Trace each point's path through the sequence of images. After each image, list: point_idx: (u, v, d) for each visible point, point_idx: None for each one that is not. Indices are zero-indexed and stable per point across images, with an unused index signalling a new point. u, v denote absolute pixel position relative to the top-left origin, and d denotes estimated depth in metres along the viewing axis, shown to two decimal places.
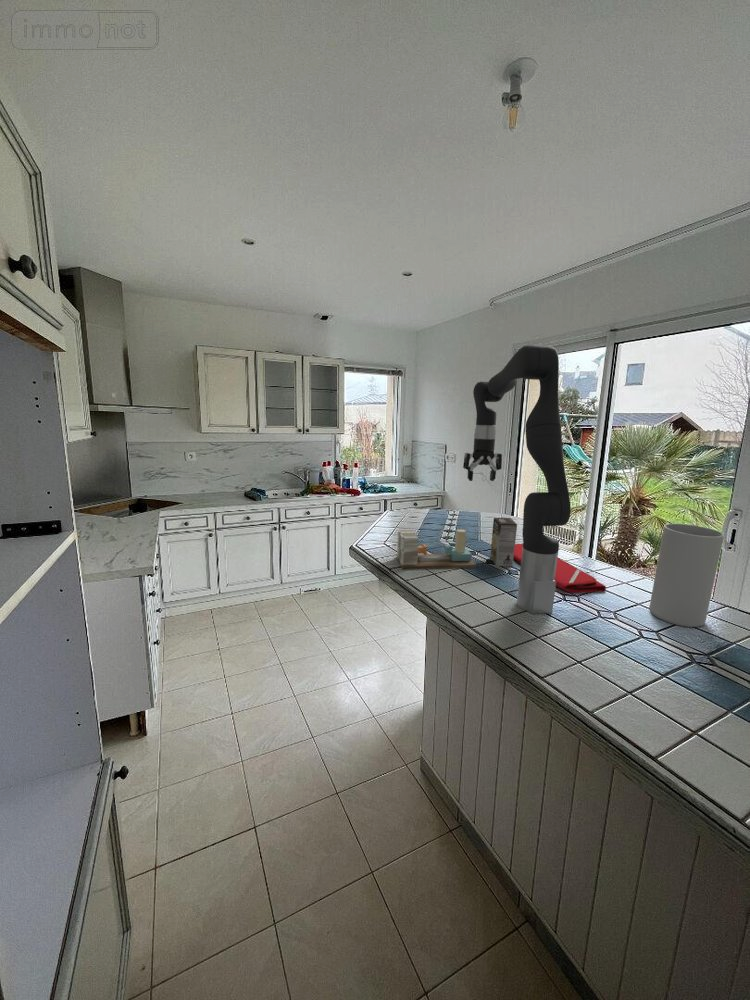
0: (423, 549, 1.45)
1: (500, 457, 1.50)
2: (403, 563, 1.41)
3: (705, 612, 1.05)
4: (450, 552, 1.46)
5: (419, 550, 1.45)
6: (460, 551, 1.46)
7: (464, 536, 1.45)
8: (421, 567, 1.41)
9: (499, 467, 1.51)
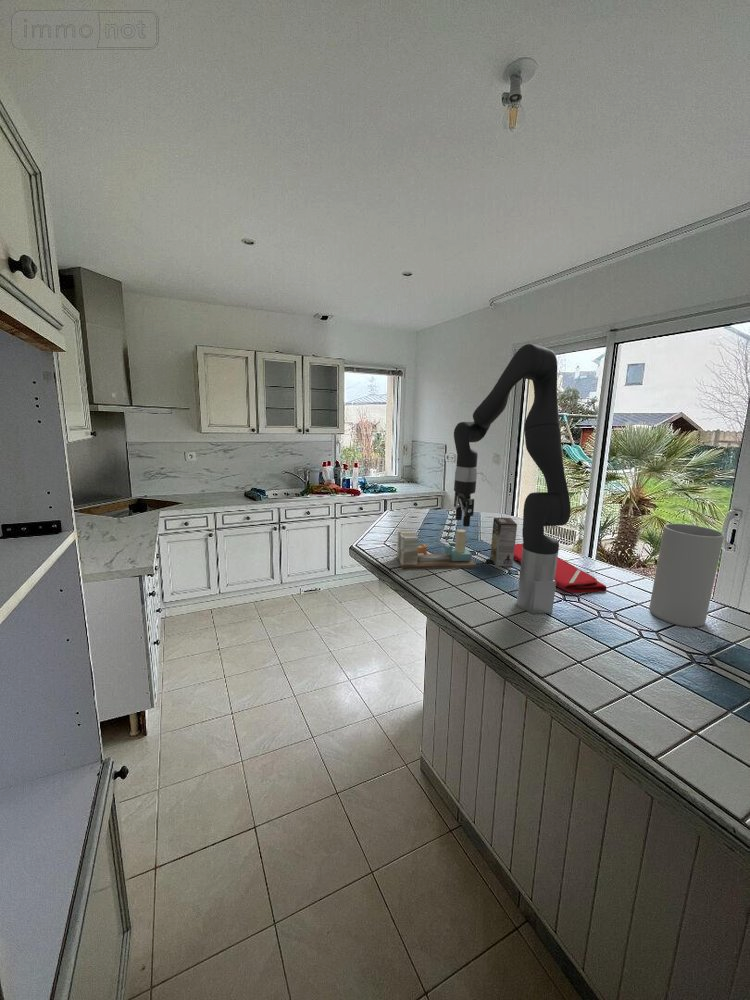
0: (423, 549, 1.45)
1: None
2: (403, 563, 1.41)
3: (705, 612, 1.05)
4: (450, 552, 1.46)
5: (419, 550, 1.45)
6: (460, 551, 1.46)
7: (464, 536, 1.45)
8: (421, 567, 1.41)
9: None
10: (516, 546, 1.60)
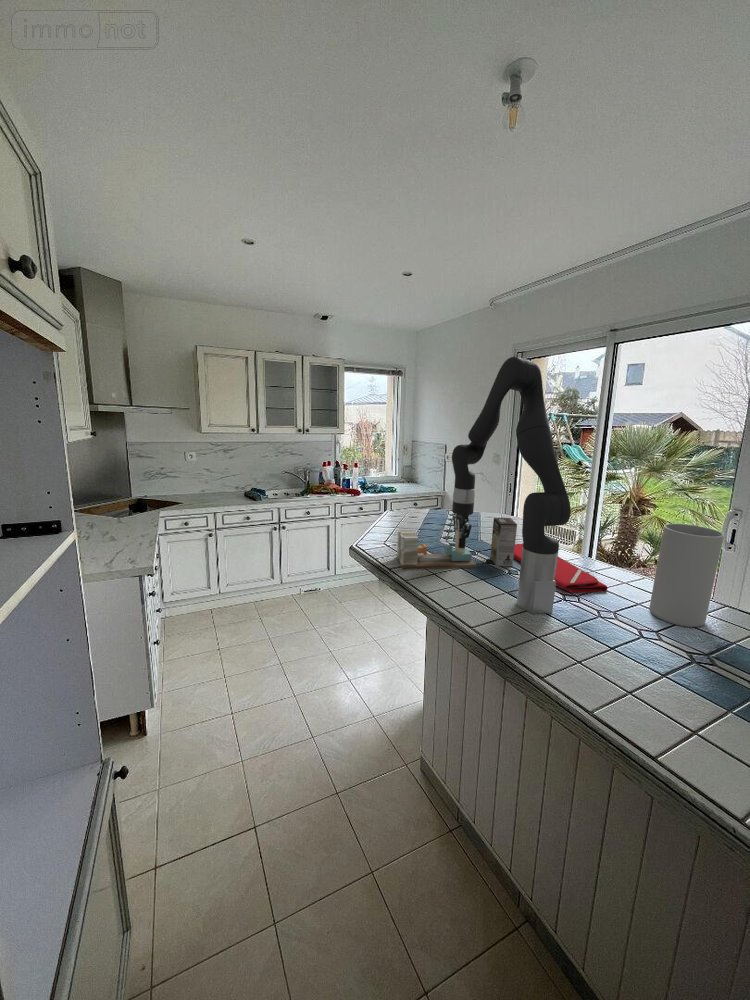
0: (423, 549, 1.45)
1: None
2: (403, 563, 1.41)
3: (705, 612, 1.05)
4: (450, 552, 1.46)
5: (419, 550, 1.45)
6: (460, 551, 1.46)
7: None
8: (421, 567, 1.41)
9: None
10: (517, 546, 1.60)
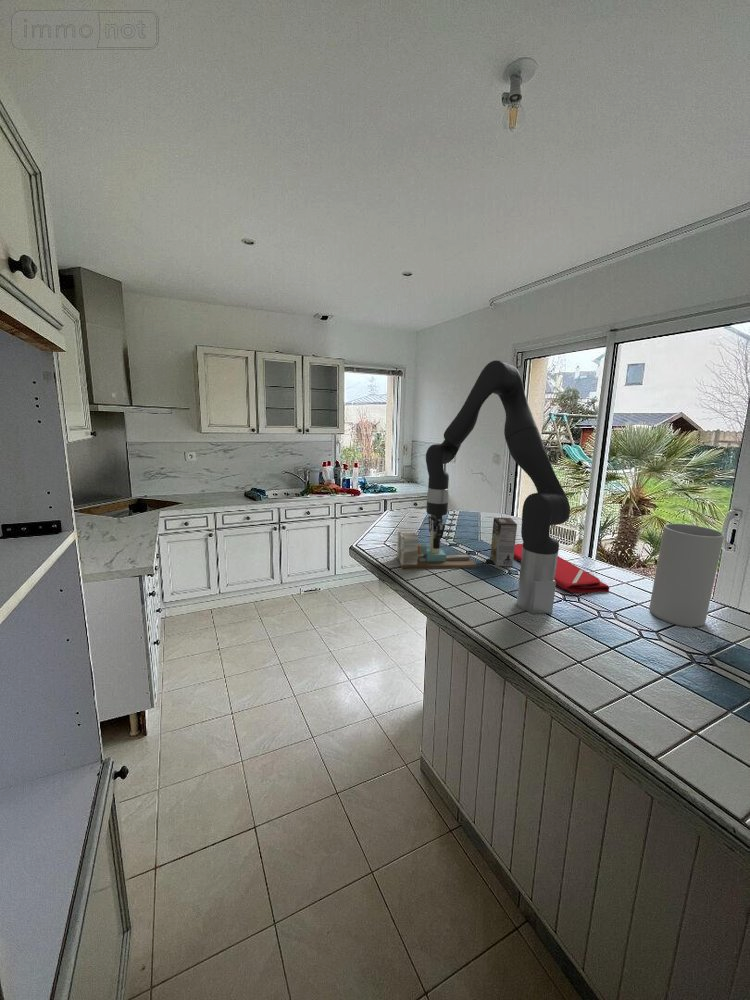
0: None
1: None
2: (403, 563, 1.41)
3: (705, 612, 1.05)
4: (424, 552, 1.45)
5: None
6: (435, 551, 1.45)
7: None
8: (421, 567, 1.41)
9: None
10: (518, 546, 1.60)
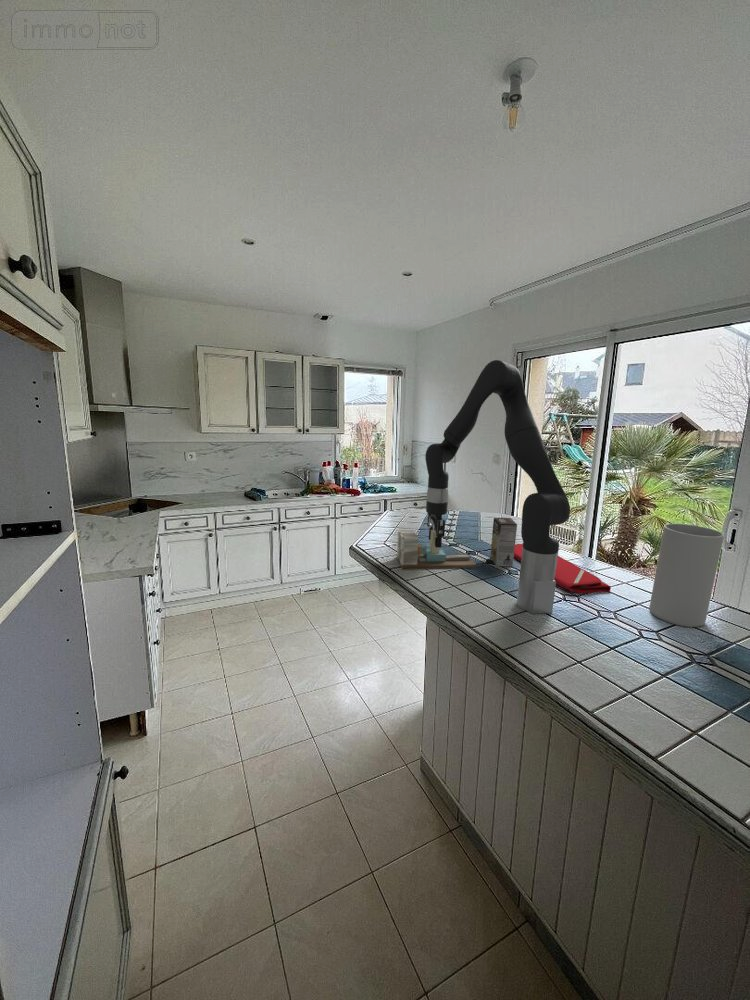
0: None
1: None
2: (403, 563, 1.41)
3: (705, 612, 1.05)
4: (424, 552, 1.45)
5: None
6: (435, 551, 1.45)
7: None
8: (421, 567, 1.41)
9: None
10: (518, 546, 1.60)
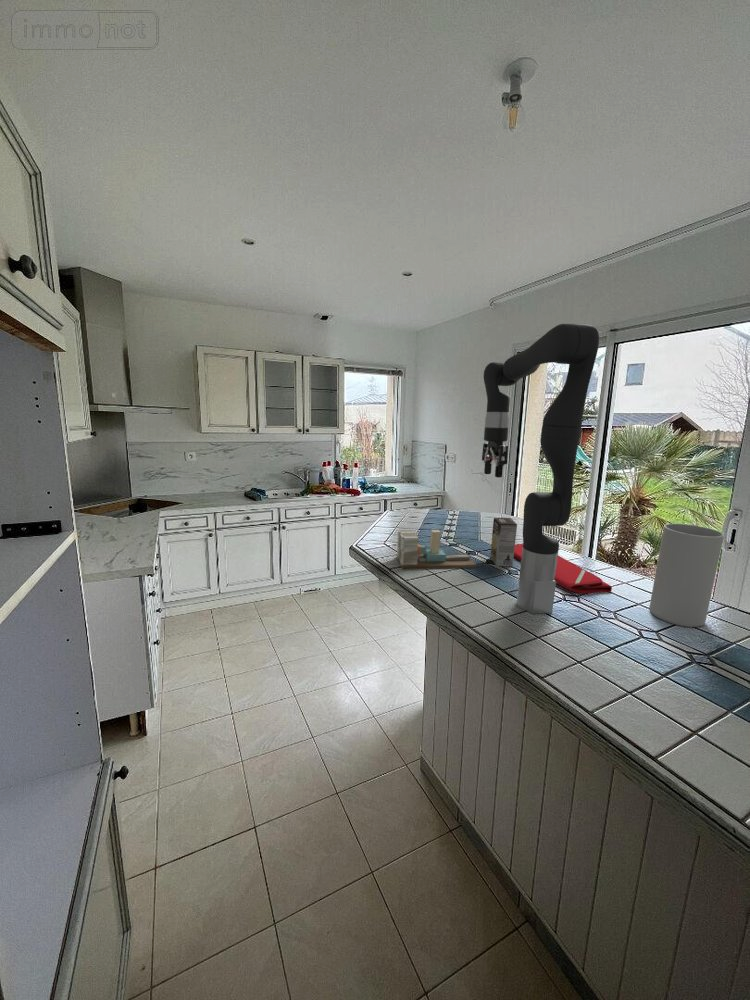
0: None
1: None
2: (403, 563, 1.41)
3: (705, 612, 1.05)
4: (424, 552, 1.45)
5: None
6: (435, 551, 1.45)
7: (438, 536, 1.44)
8: (421, 567, 1.41)
9: None
10: (519, 546, 1.60)
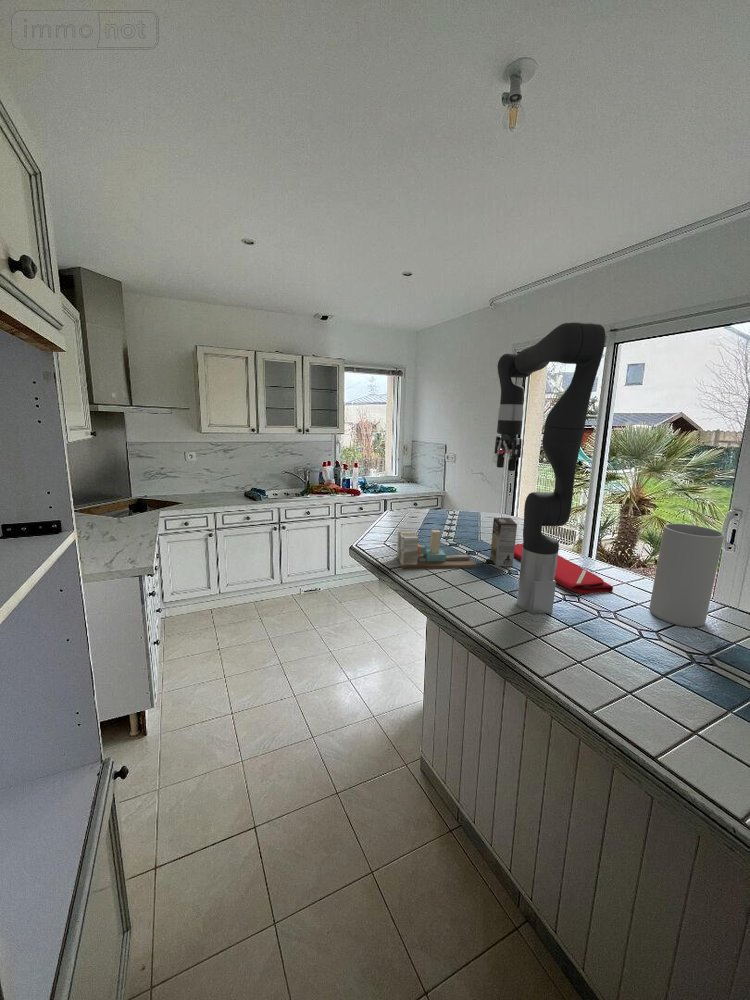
0: None
1: None
2: (403, 563, 1.41)
3: (705, 612, 1.05)
4: (424, 552, 1.45)
5: None
6: (435, 551, 1.45)
7: (438, 536, 1.44)
8: (421, 567, 1.41)
9: None
10: (520, 546, 1.60)
